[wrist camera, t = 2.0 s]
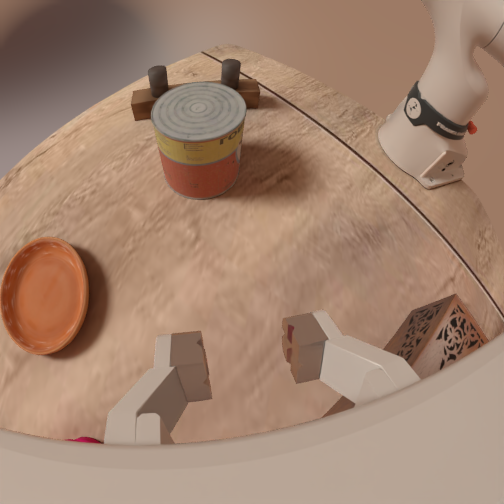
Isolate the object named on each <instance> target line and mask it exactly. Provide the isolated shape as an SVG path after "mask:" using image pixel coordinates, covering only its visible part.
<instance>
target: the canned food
mask: <svg viewBox="0 0 504 504" xmlns="http://www.w3.org/2000/svg"><path fill="white" fill-rule="evenodd" d="M246 110H247V108H246V103H245V101H244V99H243V97H242V96H241V95H240V94H239V93H238V92H236V91H235V90H234V89H232V88H230V87H228V86H225V85H222V84H219V83H214V82H192V83H187V84H183V85H180V86H177V87H175V88H173V89H171V90H169V91H167V92H166V93H164V94H163V95H162V96H161V97H160V98H159V99H158V100H157V101H156V102H155V104H154V106H153V108H152V111H151V120H152V123H153V125H154V130H155V135H156V139H157V144H158V148H159V153H160V157H161V161H162V165H163V170H164V177H165V180H166V182H167V184H168V186H169V187H170V188H171V189H172V190H173V191H174V192H175V193H177V194H179V195H180V196H183V197H186V198H189V199H197V200H202V199H209V198H213V197H216V196H219V195H221V194H223V193H224V192H226V191H227V190H229V189H230V188H231V187H232V186H233V184H234V183H235V181H236V180H237V178H238V175H239V163H240V154H241V145H242V137H243V128H244V120H245V116H246Z"/></svg>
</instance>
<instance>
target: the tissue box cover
mask: <svg viewBox="0 0 504 504" xmlns="http://www.w3.org/2000/svg"><path fill="white" fill-rule="evenodd" d="M488 342H489V341H488V339H487V338H486V336H485V335H484V333H483V331H482V330H481V328H480V327H479V325H478V324H477V322H476V321H475V319H474V318H473V316H472V315H471V314H470V312H469V311H468V309H467V308H466V306H465V305H464V304H463V302H462V301H461V299H460V298H459V297H458V295H457V294H454V295H451V296H449V297H446V298H444V299H441V300H439V301H436V302H433V303H431V304H428V305H426V306H423V307H420V308H417V309H415V310H412V311H411V313H410V314H409V316H408V317H407V318H406V320H405V321H404V323H403V324H402V325H401V327H400V328H399V329H398V331H397V332H396V333H395V335H394V336H393V337H392V339H391V340H390V341H389V343H388V344H387V345H386V346H385V348H384V349H383V350H385V351H387V352H390V353H392V354H395V355H397V356H400V357H402V358H404V359H405V361H406V362H407V363H408V364H409V365H410V367H411V368H412V369H413V370H414V372H415V373H416V374H417V375H418V376H419V378H420V379H421V380H422V379H424V378H426V377H428V376H430V375H432V374H434V373H436V372H438V371H440V370H442V369H444V368H445V367H447V366H449V365H451V364H453V363H455V362H456V361H458V360H460V359H462V358H463V357H465V356H467V355H469V354H470V353H472V352H473V351H475V350H477V349H478V348H480V347H482V346H483V345H485V344H486V343H488ZM355 404H356V403H354V402H352V401H351V400H349V399H348V398H346V397H345V396H342V397H341V398H340V400H339V401H338V402H337V403H336V404H335V405H334V406H333V407H332V408H331V409H330V410H329V411H328V412H327V413H326V414H325V415H324V416H323V417H327V416H330V415H333V414H336V413H339V412H342V411H345V410H348V409H351V408H354V406H355ZM323 417H322V418H323Z"/></svg>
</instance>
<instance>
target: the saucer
mask: <svg viewBox="0 0 504 504" xmlns="http://www.w3.org/2000/svg"><path fill="white" fill-rule="evenodd" d="M88 302H89V281H88V276H87V271H86V268H85V266H84V263H83V261H82V259H81V258H80V256H79V254H78V253H77V252H76V250H75V249H74V248H73V247H72V246H71V245H70V244H68V243H67V242H66V241H64V240H62V239H59V238H55V237H41V238H38V239H35V240H33V241H31V242H29V243H28V244H26V245H25V246H23V247H22V248H21V249H20V250H19V251H18V252H17V253H16V255H15V256H14V257H13V258H12V260H11V262H10V263H9V265H8V267H7V269H6V271H5V274H4V277H3V280H2V284H1V289H0V311H1V316H2V320H3V323H4V326H5V328H6V330H7V332H8V334H9V336H10V337H11V339H12V340H13V341H14V342H15V343H16V344H17V345H18V346H19V347H20V348H22V349H23V350H25V351H27V352H29V353H32V354H36V355H46V354H51V353H55V352H57V351H59V350H61V349H63V348H64V347H66V346H67V345H68V344H69V343H70V342H71V341H72V340H73V339H74V338H75V336H76V335H77V333H78V332H79V330H80V328H81V326H82V324H83V322H84V319H85V316H86V312H87V308H88Z"/></svg>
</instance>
